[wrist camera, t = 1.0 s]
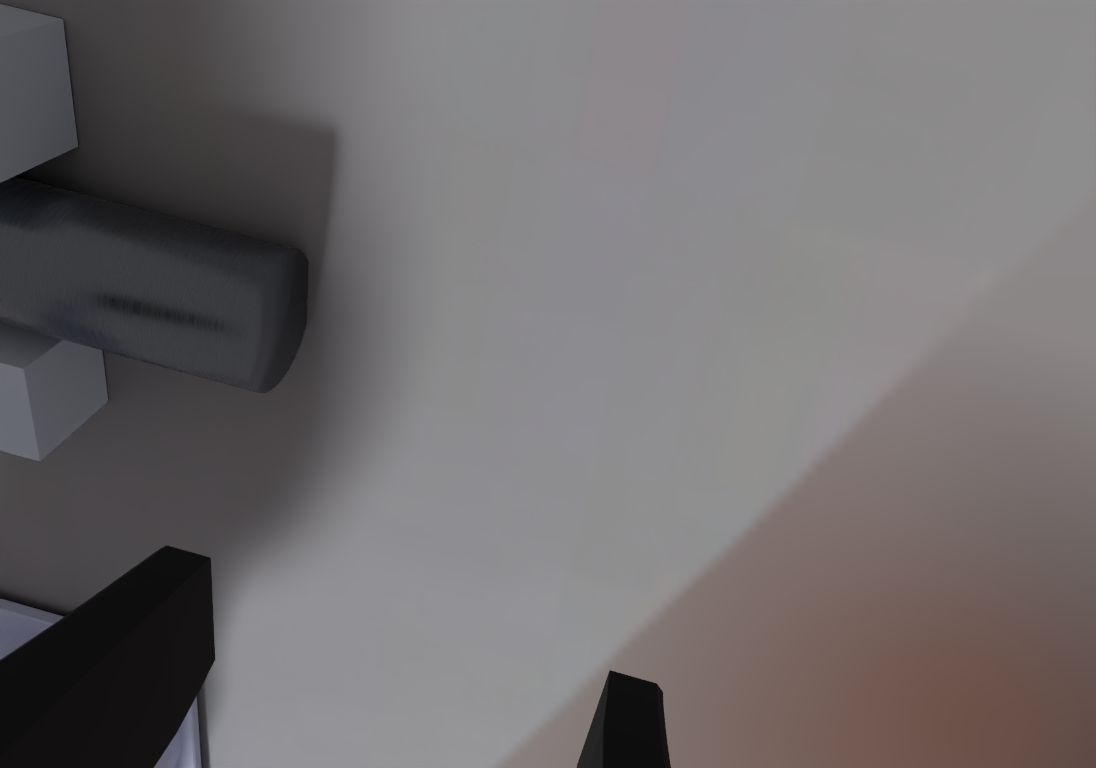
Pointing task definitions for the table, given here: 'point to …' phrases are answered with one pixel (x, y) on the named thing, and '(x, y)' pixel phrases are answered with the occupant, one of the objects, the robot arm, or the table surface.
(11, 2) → the table surface
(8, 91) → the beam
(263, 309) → the axle
